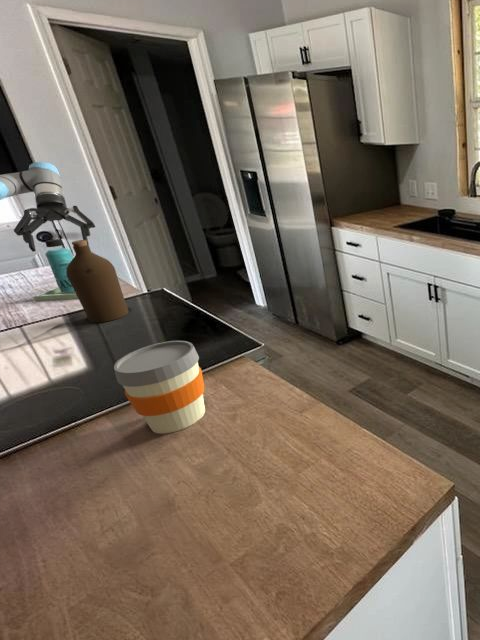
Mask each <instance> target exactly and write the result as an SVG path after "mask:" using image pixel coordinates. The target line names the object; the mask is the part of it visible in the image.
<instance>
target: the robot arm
mask: <svg viewBox="0 0 480 640" xmlns="http://www.w3.org/2000/svg"><path fill="white" fill-rule="evenodd" d="M28 166H29V167H28V170H22V171H19V172H11V173H4V174H0V201H2V200H3V199H6V198H10V197H15V196H18V195H23V194H29V193H33V196H34V200H35V206H36V209H35V210H29V209H24V210H23V215H22V217H21V218H20V220H19V221H18V223H17V224H16V226H15V227H14V229H13V232H14V233H15V234H16V236H18V237H20V236H22V240H23V241H24V243H25V244H28V248H29V249H30V251H31V252H32V253H34V252H36V251H37V249H36V246H35V244H36V243H35V240H34V236H33V233H34V232H35V231H36V230H37V229H39V228H40V227H41V226H42V225H44V224H46V223H47V222H55V221H58V222H59V221H62V220H65V221H67V222H69V223H71V224H73V225H76V226H78V227H80V232H81V238H82V240H86V241H87V244H88V245H89V246H90V244H89V240H88V237H90V236H91V231H90V229H91V228H92V229H94V228H96V225H95V223H94V222H93V220H91V219H90V218H88V217H87V215H86V214H84V213H83V212H81V211H80V209H79V206H77V205H72V207H67V203H66V199H65V194H64V189H63V185H62V180H61V175H60V173H59V169H58V168H57V166H55V165H54V164H53V163H49V162H45V161H37V162H36V161H35V162H32V163H31V164H29V165H28ZM70 213H72V214H75V215H76V216H77V217H78V218H80V219H81V220H80V219H78V218H76V217H73V216H72V215H70ZM35 216H36V217H35ZM33 218H34V219H33ZM32 219H33V220H32Z"/></svg>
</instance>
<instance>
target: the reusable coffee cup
mask: <svg viewBox="0 0 480 640" xmlns="http://www.w3.org/2000/svg"><path fill="white" fill-rule="evenodd" d="M199 360H200V356H199V354H198V352H197V350H196V348H195V346H194V344H193V343H192V342H189V341H188V340H170V341H163V342H158V343H154V344H150V345H146V346H144V347H141V348H138V349H136V350H133V351H132V352H131V351H130V352H129V353H127V354H125V355H124V356H122V357H121V358H119V359H118V360H117V361H116V362H115V363H114V365H113V369H114V374H115V378H116V381H117V383H118V384H119V386H120V385H121V386H122V388H124V396H125V397H126V399H127V400H128V402H129V403H130V405H131V406H132V407H133V410H135V412H136V413H137V414H138V415H140V416H142V417H143V419H144V420H145V422H146V423H147V425H148V426H149V428H150V430H151V431H152V432H153V433H155V434H158V435H159V434H163V435H164V434H171V433H175V432H178V431H182V430H184V429H186V428H188V427H191V426H192V425H194V424H195V423H197V422H199V421H200V419H202V417H204V415H205V413H206V407H205V399H204V392H205V383H204V377H203V370H202V368H201V367H200V366H199Z"/></svg>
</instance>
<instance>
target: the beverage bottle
mask: <svg viewBox="0 0 480 640" xmlns="http://www.w3.org/2000/svg"><path fill="white" fill-rule="evenodd" d="M44 243H45V246H46V248H51V249H49V250H47V251H46V252H45V254H44V255H45V257H46V259H47V262H48V264H49V266H50V269H51V272H52V275H53V277H54V279H55V282H56V285H57V287H59V288H60V290H61V293H71V292H75V291H74V289H73V287H72V285H71V283H70V281H69V280H68V278H67V274H66V269H67V266H68V265H69V263H70V262H71V261H72V259H73V258H74V256H73V254H72V251H71V250H70V249H68V248H67V247H61V246H64V244H65V243H64V242H63V240H62V239H61V238H56V239H49V240H45V242H44ZM56 247H57V248H56Z"/></svg>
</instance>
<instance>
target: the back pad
mask: <svg viewBox="0 0 480 640" xmlns="http://www.w3.org/2000/svg"><path fill="white" fill-rule="evenodd" d="M33 297H34V299H35V302H36V301H38V302H39V301H40V302H41V301H54V300H55V301H56V300H57V301H58V300H77V299H78V297H77V295H76V293H62V291H61V290H60V288H59V287H58V286H55V287H53V288H51V289H48V290H46V291H44V292H41V293H38V294H36V295H33ZM78 300H79V299H78Z"/></svg>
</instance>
